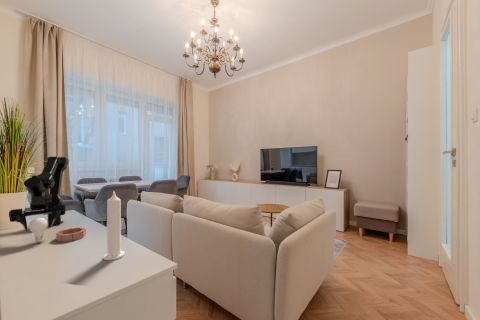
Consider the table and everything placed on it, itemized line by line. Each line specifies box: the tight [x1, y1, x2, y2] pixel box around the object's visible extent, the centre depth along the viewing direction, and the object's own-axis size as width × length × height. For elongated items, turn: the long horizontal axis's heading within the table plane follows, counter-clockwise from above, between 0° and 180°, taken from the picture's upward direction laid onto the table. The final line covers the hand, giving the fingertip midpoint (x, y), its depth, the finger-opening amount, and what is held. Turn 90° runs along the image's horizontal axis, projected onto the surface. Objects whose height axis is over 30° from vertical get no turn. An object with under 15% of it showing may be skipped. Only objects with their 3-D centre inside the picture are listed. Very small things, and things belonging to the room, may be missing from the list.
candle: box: [103, 190, 125, 261], centre depth 84 cm, size 7×7×25 cm
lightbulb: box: [28, 217, 49, 244], centre depth 97 cm, size 6×6×11 cm
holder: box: [55, 226, 87, 243], centre depth 104 cm, size 10×10×3 cm
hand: (38, 228), depth 96 cm, fingers open, 7 cm apart
